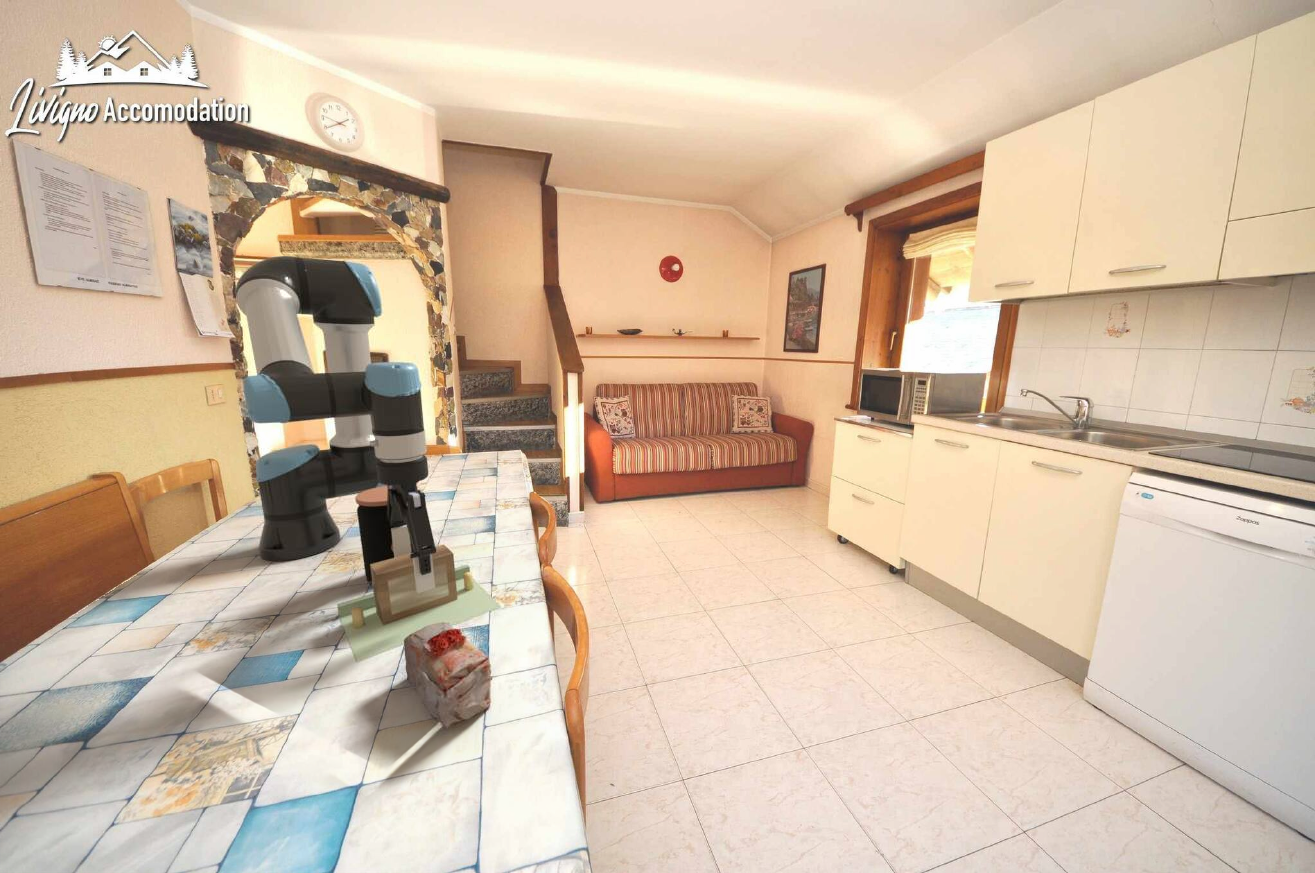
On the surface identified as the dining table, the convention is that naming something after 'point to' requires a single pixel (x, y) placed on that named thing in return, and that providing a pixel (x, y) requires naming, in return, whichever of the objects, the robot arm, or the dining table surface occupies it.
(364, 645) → the ledge board
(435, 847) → the dining table surface
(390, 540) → the coffee jar
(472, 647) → the food item
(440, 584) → the brown box-like piece
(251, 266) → the robot arm
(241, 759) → the dining table surface
